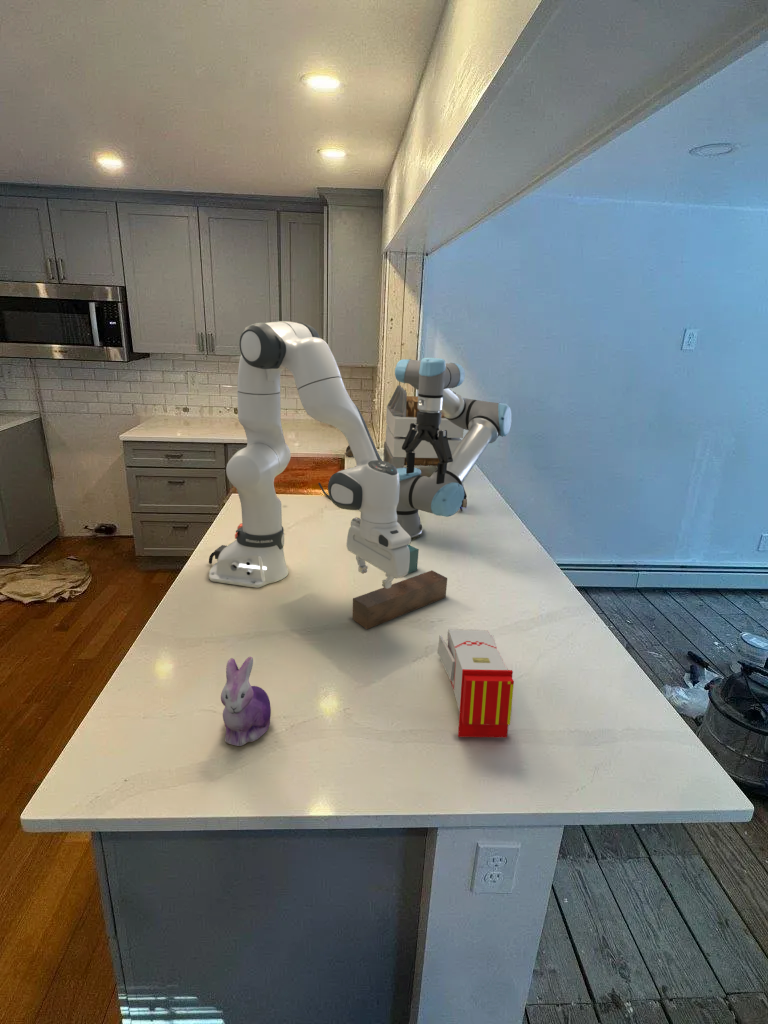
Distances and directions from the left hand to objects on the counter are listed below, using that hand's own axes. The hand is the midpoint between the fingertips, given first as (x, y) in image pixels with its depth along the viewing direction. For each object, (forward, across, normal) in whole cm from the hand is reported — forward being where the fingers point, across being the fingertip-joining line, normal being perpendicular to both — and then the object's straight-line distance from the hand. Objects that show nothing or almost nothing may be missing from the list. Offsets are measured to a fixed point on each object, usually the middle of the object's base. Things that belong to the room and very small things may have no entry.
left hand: (374, 579), depth 142 cm
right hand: (-14, -25, +40) cm, 49 cm away
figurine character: (+11, -47, +82) cm, 95 cm away
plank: (+11, +1, +9) cm, 14 cm away
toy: (+10, +36, -2) cm, 37 cm away
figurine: (+11, +18, -44) cm, 49 cm away
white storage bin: (+11, -92, +104) cm, 139 cm away
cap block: (+11, -17, +25) cm, 33 cm away
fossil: (+12, -139, +103) cm, 173 cm away
